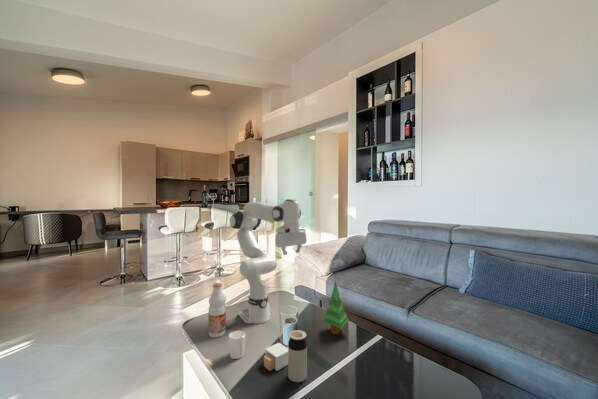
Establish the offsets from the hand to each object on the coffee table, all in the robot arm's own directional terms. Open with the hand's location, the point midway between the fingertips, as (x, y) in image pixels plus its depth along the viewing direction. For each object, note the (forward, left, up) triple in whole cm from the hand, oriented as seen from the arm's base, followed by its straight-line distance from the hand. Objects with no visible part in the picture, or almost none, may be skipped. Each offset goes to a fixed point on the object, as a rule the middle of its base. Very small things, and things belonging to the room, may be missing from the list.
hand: (291, 253), depth 143 cm
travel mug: (+26, -19, -47) cm, 56 cm away
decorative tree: (+12, +23, -47) cm, 53 cm away
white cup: (-6, -30, -47) cm, 56 cm away
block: (+12, -23, -46) cm, 53 cm away
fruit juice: (-32, -28, -47) cm, 63 cm away
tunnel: (+12, -19, -46) cm, 52 cm away
